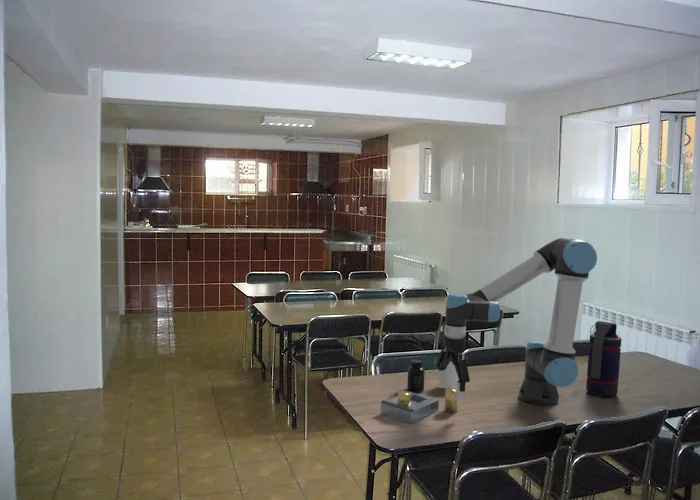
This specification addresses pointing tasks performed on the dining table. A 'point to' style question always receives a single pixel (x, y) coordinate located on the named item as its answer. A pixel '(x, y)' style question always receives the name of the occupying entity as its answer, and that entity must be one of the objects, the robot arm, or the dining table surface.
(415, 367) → the supplement bottle
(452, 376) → the mug
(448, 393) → the cylinder
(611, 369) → the grenade
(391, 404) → the block
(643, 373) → the dining table surface
